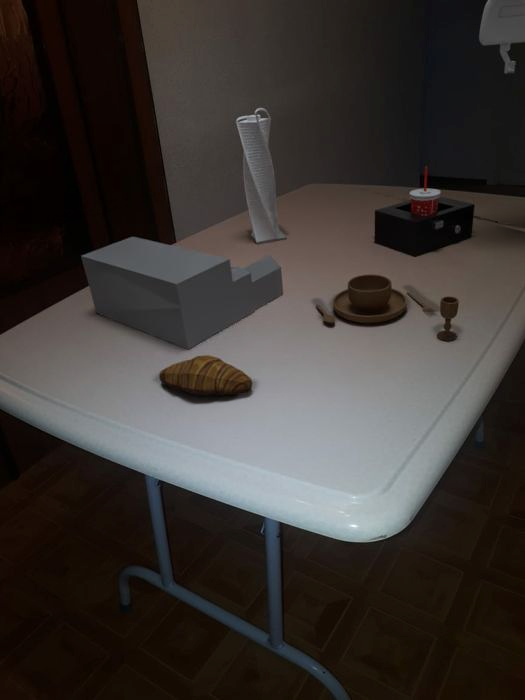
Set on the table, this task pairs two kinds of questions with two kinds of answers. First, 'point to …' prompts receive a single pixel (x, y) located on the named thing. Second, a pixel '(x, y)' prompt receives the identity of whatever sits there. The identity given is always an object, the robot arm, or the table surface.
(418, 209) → the beverage cup
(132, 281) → the grey stepped block
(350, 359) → the table surface
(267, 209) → the skyscraper
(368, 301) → the place setting
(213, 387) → the croissant
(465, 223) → the black open top box
